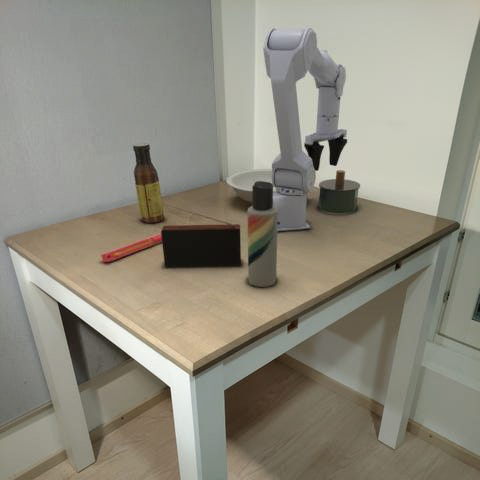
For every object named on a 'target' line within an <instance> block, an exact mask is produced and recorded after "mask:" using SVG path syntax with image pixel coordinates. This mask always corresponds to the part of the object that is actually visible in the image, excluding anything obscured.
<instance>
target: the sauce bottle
mask: <svg viewBox="0 0 480 480" xmlns="http://www.w3.org/2000/svg"><path fill="white" fill-rule="evenodd" d="M132 149H133V151H134V155H135V166H134V170H133V177H134V182H135V183H134V185H135V190H136V191H135V192H136V195H137V196H136V197H137V202H138V208H139V214H140V216H141V220H142V221H143V222H144V223H147V224H148V223H149V224H154V223H159V222H162V221H163V220H164V218H165V215H164V211H165V210H164V206H163V204H164V203H163V198H162V192H161V191H162V190H161V184H160V178H159V174H158V171H157V169H156V167H155V165H154V164H153V162H152V158H151V152H150V150H151V147H150V143H148V142H137V143H134V144H133V145H132ZM148 199H151V200H153V201H156V202H153V201H149V200H148ZM157 202H159V203H157ZM160 203H163V204H160Z"/></svg>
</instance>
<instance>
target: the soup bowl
mask: <svg viewBox="0 0 480 480" xmlns="http://www.w3.org/2000/svg"><path fill="white" fill-rule="evenodd" d="M271 175H272V168H257V169H248V170H243V171H239V172H236V173H232V174H231V175H229V176H228V177H227V178H226V180H225V182H226V184H227V186H229V187H230V188H232V190H233V191H234V193H235V194H236V195H237V196H238V197H239V198H241V199H242V200H244V201H245V202H248V203H251V204H252V186H253V185H254V183H255V182H257V181H264V182H270V183H272V180H271ZM272 184H273V183H272ZM274 192H277V191H276V188H275V187H274V186H273V193H274Z"/></svg>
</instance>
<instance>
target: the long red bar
mask: <svg viewBox="0 0 480 480" xmlns="http://www.w3.org/2000/svg"><path fill="white" fill-rule="evenodd" d="M182 225H185V224H182ZM161 243H162V236H161V232H159V233H156V234H153V235H151V236H148V237H144V238H142V239H139V240H137V241H133V242H131V243H128V244H126V245H123V246H119V247H117V248H115V249H112V250H109V251H108V252H105V253H102V254H101V255H100V256H101V259H102V262H103V263H107V262H108V263H109V262H110V261H112V262H113V261H115V260H118V259H121V258H124V257H125V256H129V255H131V254H133V253H136V252H139V251H141V250H144V249H147V248H149V247H152V246H155V245H157V244H161Z"/></svg>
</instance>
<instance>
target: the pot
mask: <svg viewBox="0 0 480 480" xmlns="http://www.w3.org/2000/svg"><path fill="white" fill-rule="evenodd" d="M358 196H359V189H358V190H356V191H351V192H332V191H327V190H324V189H321V188H320V187H319V197H318V208H319V209H320V210H321V211H323V212H327V213H332V214H347V213H351V212H354V211H356V210H357V205H358V198H359V197H358Z"/></svg>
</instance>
